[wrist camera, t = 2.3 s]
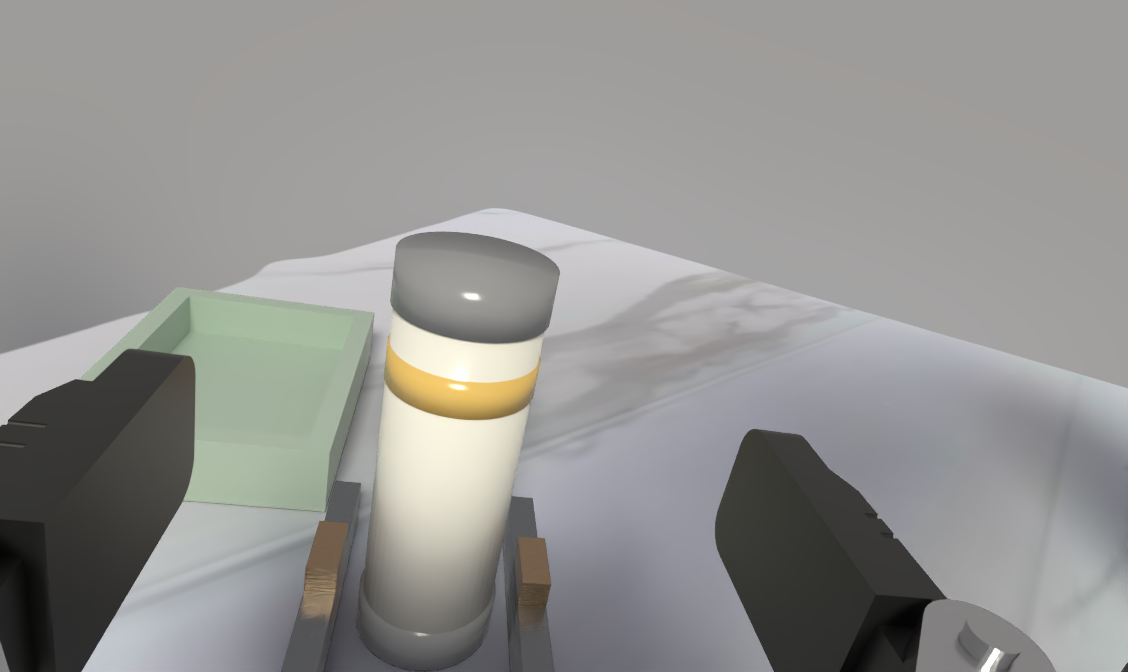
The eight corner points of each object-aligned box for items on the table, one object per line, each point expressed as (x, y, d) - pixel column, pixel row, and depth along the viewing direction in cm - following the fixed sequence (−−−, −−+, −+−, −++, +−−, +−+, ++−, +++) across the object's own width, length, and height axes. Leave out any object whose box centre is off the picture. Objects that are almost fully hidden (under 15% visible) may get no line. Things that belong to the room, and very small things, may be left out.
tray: (369, 357, 44) (374, 312, 43) (324, 511, 31) (329, 452, 30) (177, 334, 42) (177, 286, 41) (38, 488, 29) (31, 424, 28)
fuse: (487, 575, 29) (551, 245, 24) (490, 674, 25) (568, 299, 19) (365, 566, 28) (403, 223, 23) (346, 667, 24) (387, 273, 19)
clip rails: (524, 535, 32) (536, 479, 31) (545, 744, 23) (563, 676, 22) (332, 520, 30) (337, 460, 29) (273, 737, 21) (277, 663, 20)
